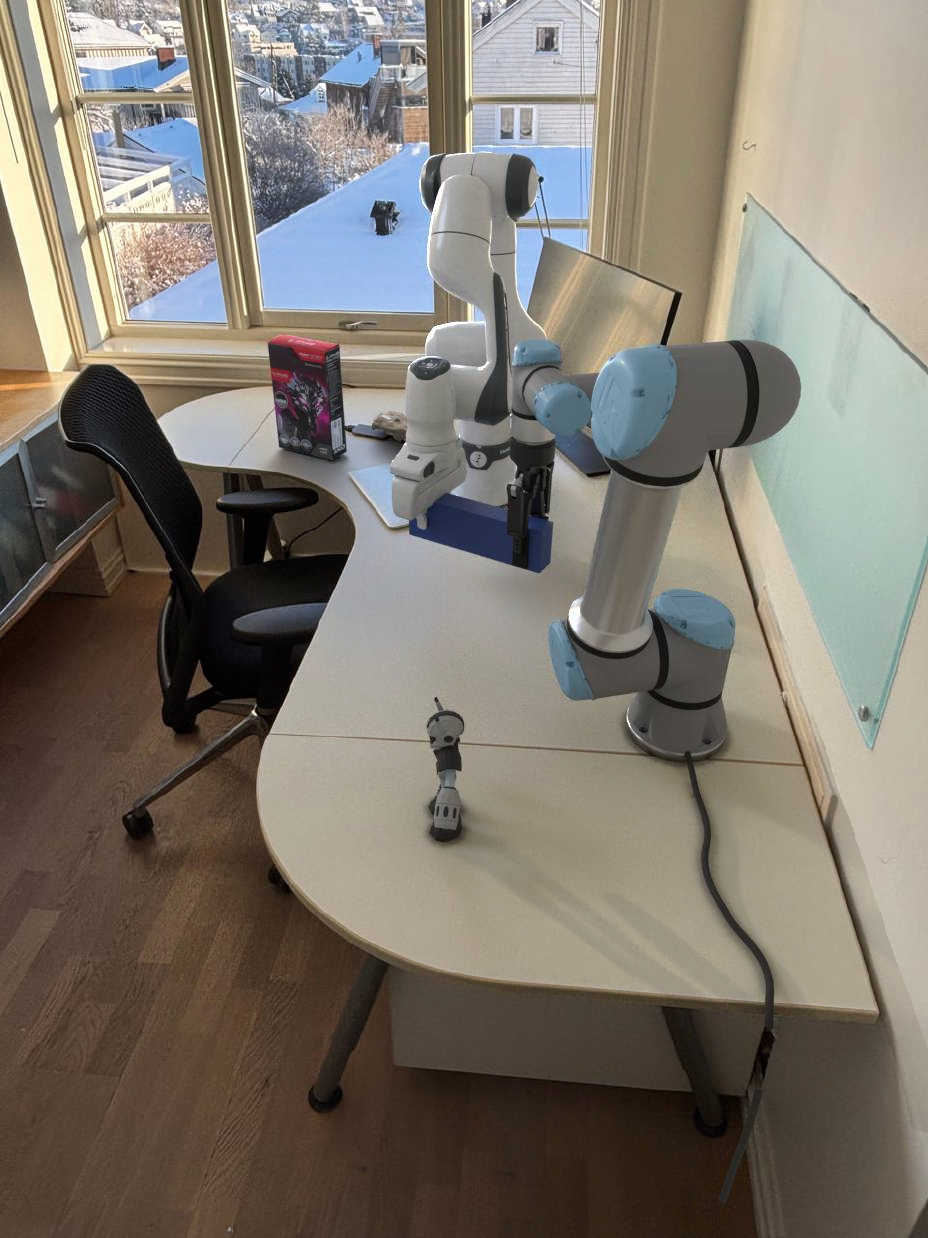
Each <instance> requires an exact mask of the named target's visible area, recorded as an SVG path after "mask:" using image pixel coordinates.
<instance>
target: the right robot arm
mask: <svg viewBox="0 0 928 1238" xmlns="http://www.w3.org/2000/svg"><path fill="white" fill-rule="evenodd" d="M562 364H563V357H562V347H561V346H560V345H559V344H558V343H557V342H555V341H553V340H549V339H548V340H544V339H531V340H525V341H522V342H520V343H518V344H517V345H516V347H515V349H514V358H513V364H512V368H513V376H512V412H511V414H510V418H511V425H510V428H511V435H512V437H511V438H510V458H511V460H512V461H513V462H514V463H515V464H516V465H517V466H516V467H517V470H516V474H515V479H516V481H515V482H514V484H513V485H512V484H508V485H507V488H506V490H507V495H508V503H507V508H506V509H507V535H509V536H512V537H513V558H512V565H513V566H512V565H511V566H512V567H515V566H517V567H516V568H518V567H520V568H519V569H522V568H523V569H522V570H525V569H527V568H528V552H529V535H528V534H527V530H528V524H529V517H530V516H533V517H537V518H540V519H544V520H548V521H550V517H549V516H548V514H549V513H550V510H551V499H552V498H551V496H552V485H553V483H552V482H553V473H554V468H555V463H556V461H555V458H556V444H557V440H556V437H557V436H558V437H562V438H567V437H573V436H575V435H576V434H577V433H579V432H582V431H583V430H584V429H585V428H586V427H587V425H590V429H591V436H592V439H593V443H594V445H595V447H596V449H597V452H599V453H600V455H602V458H603V461H604V463H605V465H606V466H607V467H608V468H609V470H610V472H609V473H610V474H609V476H608V483H607V487H606V493H605V496H604V501H603V505H602V510H601V515H600V517H599V518H600V519H599V523H598V529H597V533H596V536H595V537H596V538H595V542H594V546H593V551H592V554H591V555H592V557H591V560H590V564H589V569H588V573H587V579H586V583H585V588H584V593H583V594H581V595H580V596H578V597H577V598H576V599H575V600H574V601H573V602H572V603H571V605H570V607H569V608H568V609H569V610H568V614H567V619H564V620H562V619H558V620H557V621H553V622H551V623H550V624H549V627H548V632H547V633H548V634H547V635H548V636H547V639H548V649H549V654H550V660H551V664H552V668H553V671H554V675H555V678H556V680H557V683H558V685H559V688H560V690H561V691H562V693H563V694H564V696H565V697H566V698H568V699H569V700H572V701H576V702H577V701H588V700H591V701H596V700H598V699H605V698H611V697H617V696H623V695H624V696H625V695H630V694H635V693H636V694H635V695H634V697H633V699H632V701H631V702H630V704H629V706H628V708H627V711H626V719H625V728H626V732H627V734H628V736H629V738H630V739H631V741H632V742H634V744H636V745H637V746H638V747H639V748H640V749H641V750H643V751H645V752H646V753H648V754H650V755H651V756H654V757H656V758H659V759H662V760H666V761H670V762H675V763H686V766H687V771H688V774H689V779H690V784H691V788H692V791H693V792H692V793H693V795H694V799H695V802H696V805H697V807H698V811H699V813H700V816H701V821H702V825H703V826H702V827H703V841H702V846H701V855H700V858H701V859H700V863H701V864H700V865H701V870H702V874H703V878H704V881H705V883H706V886H707V889H708V891H709V893H710V895H711V897H712V899H713V901H714V903H715V904H716V906H717V908H718V909H719V911H720V913H721V914H722V916H723V918H724V919H725V922H727V924H728V925H729V927H730V928H731V929H732V930H733V932H734V933H735V934H736V935H737V936H738V937H739V938H740V940H741V941H742V942H743V943H744V944H745V946H746V947H747V948H748V949H749V950H750V951H751V953H752V954H753V956H754V957H755V959H756V960H757V962H758V964H759V966H760V969H761V971H762V974H763V977H764V984H765V994H764V995H765V996H764V1027H765V1029H766V1030H769V1031H772V1030H773V1029H774V1021H775V1020H774V1016H775V1015H774V1014H775V1013H774V1010H775V982H774V977H773V973H772V971H771V968H770V966H769V963H768V960H767V959H766V957H765V955H764V953H763V952H762V951H761V949H760V947H759V946H758V945H757V944H756V942H754V940H753V939H752V938H751V937H750V936H749V934H748V933H746V931H745V930H744V929H743V928H742V926H740V924H739V923H738V922H737V921H736V919H735V918H734V916H733V915H732V913H731V911H730V910H729V908H728V907H727V905H726V903H725V901H724V900H723V898H722V897H721V894H720V893H719V891H718V889H717V887H716V885H715V883H714V880H713V877H712V874H711V869H710V864H709V863H710V862H709V861H710V859H709V856H710V849H711V842H712V827H711V821H710V817H709V814H708V811H707V808H706V805H705V802H704V800H703V796H702V794H701V791H700V787H699V782H698V778H697V773H696V769H695V766H694V762H700V761H703V760H706V759H709V758H711V757H714V755H716V754H718V752H720V751H721V750H722V748H723V747H724V744H725V743H726V740H727V739H726V738H727V734H728V721H727V716H726V712H725V708H724V707H725V706H724V701H723V692H724V686H725V682H726V678H727V674H728V673H727V672H728V668H729V664H730V659H731V654H732V651H733V650H732V649H733V648H734V645H735V637H736V636H735V635H736V618H735V616H734V614H733V612H732V611H731V609H730V608H729V607H728V606H727V605H726V604H725V603H723V602H722V601H720V600H719V599H717V598H715V596H711V595H709V594H707V593H704V592H701V591H699V590H698V591H697V590H694V589H689V588H688V589H687V588H671V589H667V590H664V591H662V592H661V593H660V594H659V595H657V597H656V599H654V602H653V607H652V608H648V607H649V603H650V600H651V596H652V593H653V590H654V587H655V583H656V579H657V576H658V572H659V569H660V566H661V562H662V559H663V555H664V553H665V549H666V545H667V541H668V538H669V535H670V532H671V528H672V524H673V522H674V518H675V515H676V511H677V508H678V504H679V500H680V497H681V494H682V492H683V491H682V490H683V488H684V486H687V485H689V484H691V483H693V482H694V481H695V480H696V479H697V478H698V477H699V476H700V474H701V472H702V470H703V467H704V465H705V464H704V463H705V461H706V457H707V454H708V453H710V451H715V450H725V449H734V448H743V447H747V446H748V447H749V446H752V445H755V444H758V443H762V442H763V441H766V440H768V439H770V438H773V436H775V435H776V434H778V433H779V432H780V431H782V430H783V429H784V428H785V427H786V426H787V425H788V424H789V422H790V421H791V420H792V418H793V417H794V415H795V413H796V412H797V409H798V407H799V403H800V400H801V396H802V382H801V377H800V374H799V371H798V369H797V366H796V365H795V363H794V361H793V360H792V358H790V356H789V355H788V354H787V353H786V352H785V351H783V350H781V349H780V348H779V347H777V346H774V345H773V344H770V343H769V342H764V341H760V340H753V339H731V340H724V341H721V340H720V341H709V342H708V341H707V342H695V343H694V342H693V343H683V344H671V345H669V344H667V345H663V344H659V343H650V344H646V345H643V346H641V347H634V348H627V349H623V350H621V351H619V352H617V353H614V355H612V356H611V357H609V359H608V360H607V361H606V362H605V363H604V364H603V366H602V368H601V370H600V371H599V372H590V373H589V372H588V373H587V372H586V373H576V374H575V373H574V374H571V375H566V374H567V373H565V372H564V371H563V370H562ZM763 1093H764V1090H763V1089H759V1088H754V1090H753V1094H752V1098H751V1102H750V1106H749V1109H748V1113H747V1117H746V1119H745V1123H744V1126H743V1129H742V1131H741V1135H740V1137H739V1140H738V1143H737V1146H736V1149H735V1151H734V1154H733V1156H732V1159H731V1162H730V1165H729V1166H728V1170H727V1173H726V1176H725V1178H724V1182H723V1185H722V1188H721V1191H720V1194H719V1196H718V1200H719V1202H720V1203H721V1204H726V1202H727V1200H728V1196H729V1193H730V1190H731V1187H732V1185H733V1182H734V1179H735V1177H736V1174H737V1171H738V1168H739V1167H740V1166H739V1165H740V1163H741V1161H742V1157H743V1155H744V1153H745V1150H746V1147H747V1145H748V1142H749V1139H750V1136H751V1134H752V1132H753V1128H754V1125H755V1122H756V1118H757V1115H758V1112H759V1108H760V1105H761V1101H762V1098H763Z"/></svg>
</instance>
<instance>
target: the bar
mask: <svg viewBox="0 0 928 1238" xmlns="http://www.w3.org/2000/svg"><path fill="white" fill-rule="evenodd" d="M425 515H426V518H430V522H429V523H430V525H429V527H427V528H426V529H425V530H423V529H420V528H418V526H417V519H416V517H415V518H414V519H413V520H408V533H409V534H408V535H410V536H413V537H415V538H419V539H423V540H426V541H429V542H432V543H435V544H439V545H442V546H446V547H449V548H452V549H456V550H458V551H463V552H465V553H469V554H473V555H475V556H478V557H482V558H486V559H488V560H492V561H496V562H499V563H502V564H505V565H508V566H512V567H514V568H515V567H516V568H519V569H522V570H526V571H528V572H532V573H536V574H538V575H539V574H541V573H542V572H543V571H545V569H546V568H547V567H548V566H549V565H550V564H551V561H552V546H553V534H554V533H553V532H554V521H552V520H544V519H540V518H537V517H533V516H530V517H529V524H528V530H527V534H528V535H529V552H528V568H527V569H523V568H520V567H517V566H513V565H512V558H513V537H512V536H509V535H507V508H504V507H501V506H493V505H489V504H486V503H482V502H478V501H475V500H471V499H467V498H464V497H460V496H456V495H453V494H449V493H445V494H444V495H443V496H441V497H440V498H438V499H437V500H436V501H434V503H433V505H432V506H430V507H429V508H428V509H427V513H426V514H425Z"/></svg>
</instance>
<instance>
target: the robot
mask: <svg viewBox="0 0 928 1238" xmlns="http://www.w3.org/2000/svg"><path fill="white" fill-rule="evenodd" d="M433 701H434V703H435V706H436V708H437V712H434V713H433V714H432V715H430V717H429V718H428V720H427V722H426V724H425V727H426V734H427V735H428V738H429V747H430V749H432V753H433V755H434V757H435V759H436V762H435V769H436V775H437V777H438V778H439V783H440V784H439V785H438V789H437V792H436V795H434V797H433V798H432V799H431V801H430V802H429V804H428V809H429V811H430V814H431V815H432V816H433V821H432V824H431V826H430V829H429V832H428V834H429V835H430V836H431V837H432V838H433V839H434V840H435V841H439V842H449V841H452V840H454V839H457V838H459V837H460V835H461V832H462V831H463V827H462V826H463V825H462V817H461V815H460V812H461V810H462V808H461V797H460V793H459V792H460V791H459V790H458V789H457V787H456V781H457V772H462V770H463V766H462V765H463V761H462V755H461V752H460V747H459V743H460V742H461V737H460V736H461V735H463V733H464V732H465V720H464V717H462V715H461V714H460V713H458V712H457V711H454V710H451V709H445V708H444V707H443V705H442V703H441V702H440V699H439V698H438V697H437V696H435V697H434V698H433Z"/></svg>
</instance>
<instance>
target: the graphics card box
mask: <svg viewBox="0 0 928 1238" xmlns="http://www.w3.org/2000/svg"><path fill="white" fill-rule="evenodd" d="M340 347H341V346H340V343H335V342H333V343H332V342H328V341H322V340H317V339H311V338H306V337H300V336H295V335H289V334H285V333H282V334H279V335H277V336H274V337H273V338H271V339H270V340H268V341H267V351H268V359H269V367H270V369H269V370H270V377H271V378H270V379H271V385H272V386H271V387H272V395H273V403H274V412H275V413H274V414H275V423H276V433H277V441H278V442H277V443H278V448H279V449H283V450H287V451H288V450H289V451H292V452H297V453H301V454H305V455H309V456H314V457H317V458H322V459H326V460H330V461H333V460H335V459H337V458H339V457H340V456H342V455H344V454H345V453H347V451H348V449H347V447H348V446H347V434H346V420H345V407H344V406H345V405H344V393H343V380H342V364H341V363H342V362H341V349H340Z"/></svg>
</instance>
